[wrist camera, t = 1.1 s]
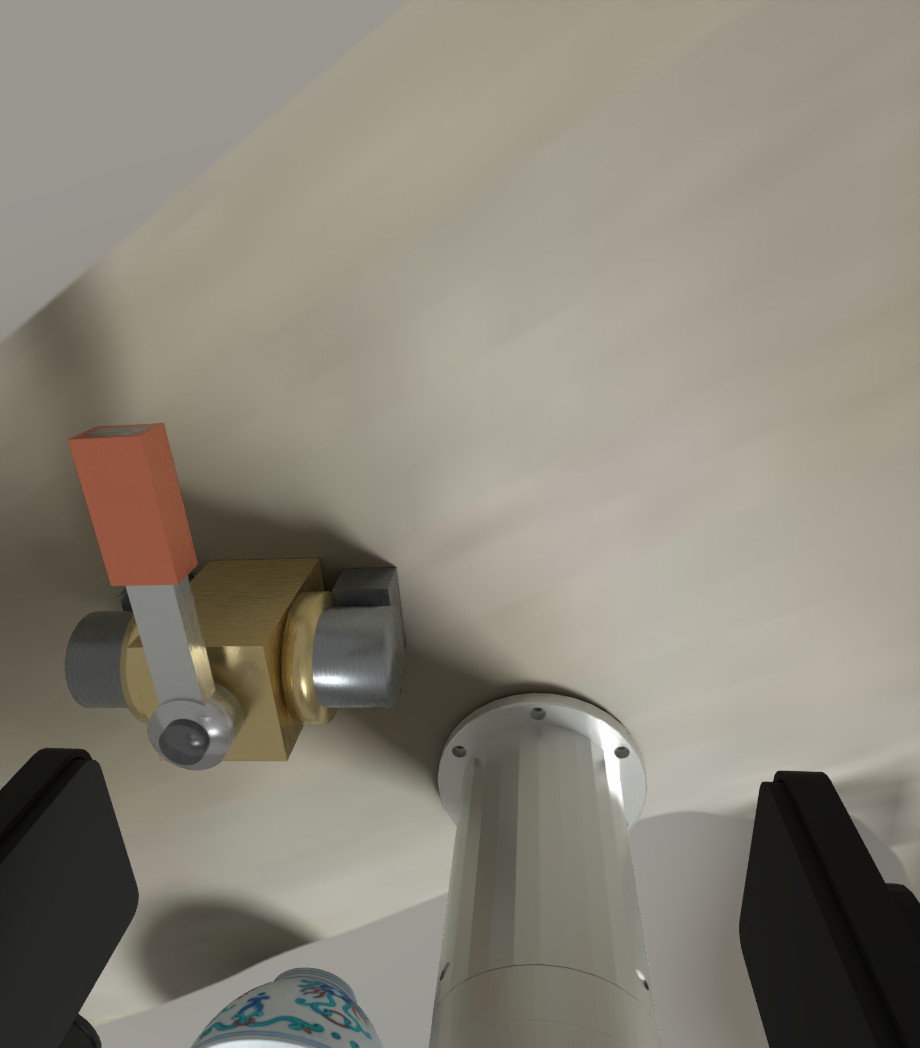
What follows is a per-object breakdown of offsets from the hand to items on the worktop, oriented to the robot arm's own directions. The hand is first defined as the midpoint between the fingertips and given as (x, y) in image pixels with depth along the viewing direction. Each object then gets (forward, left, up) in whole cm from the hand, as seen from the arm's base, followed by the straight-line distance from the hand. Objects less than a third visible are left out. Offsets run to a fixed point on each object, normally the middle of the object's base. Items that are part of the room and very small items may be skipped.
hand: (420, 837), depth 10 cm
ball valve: (-12, +14, -27) cm, 33 cm away
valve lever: (-6, +14, -18) cm, 23 cm away
